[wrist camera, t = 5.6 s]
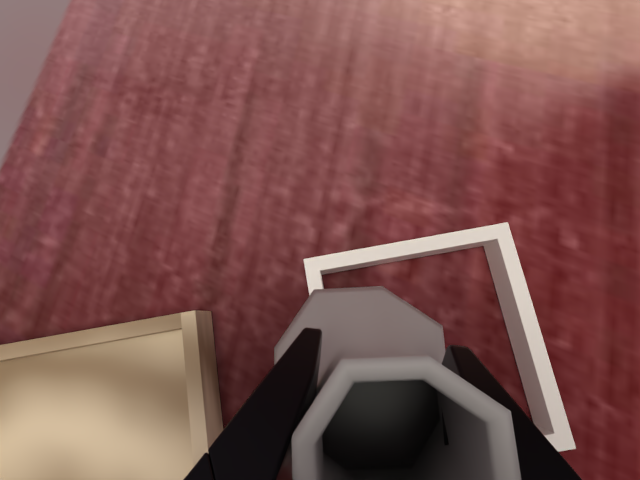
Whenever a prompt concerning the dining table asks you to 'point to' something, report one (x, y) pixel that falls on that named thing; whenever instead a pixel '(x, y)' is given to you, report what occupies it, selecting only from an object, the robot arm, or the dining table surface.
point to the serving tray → (111, 401)
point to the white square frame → (511, 299)
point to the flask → (392, 398)
